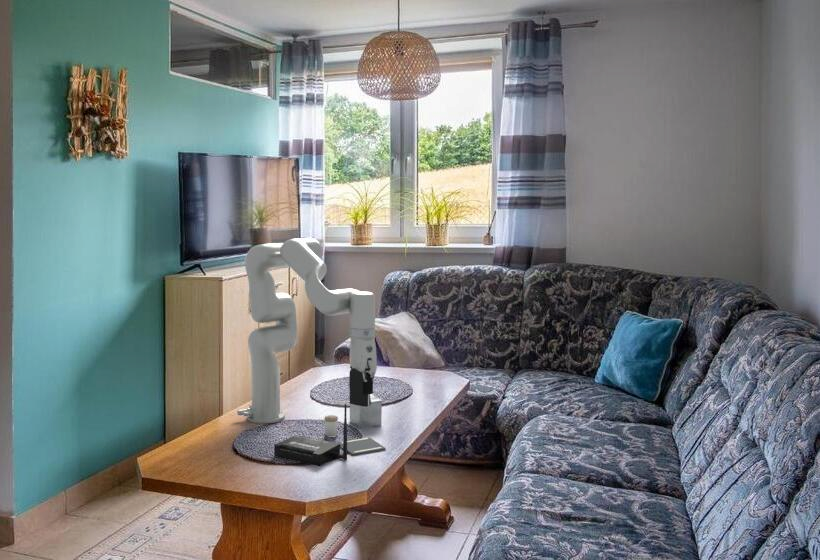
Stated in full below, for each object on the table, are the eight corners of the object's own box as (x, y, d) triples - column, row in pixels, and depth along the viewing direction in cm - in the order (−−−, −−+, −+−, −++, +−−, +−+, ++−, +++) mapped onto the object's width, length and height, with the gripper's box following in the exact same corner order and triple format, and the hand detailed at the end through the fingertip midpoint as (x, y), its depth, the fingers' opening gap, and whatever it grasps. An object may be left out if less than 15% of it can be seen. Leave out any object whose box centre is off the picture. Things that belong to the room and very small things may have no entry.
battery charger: (374, 404, 216) (375, 367, 215) (367, 407, 213) (367, 370, 212) (355, 401, 220) (355, 364, 218) (348, 404, 216) (348, 367, 215)
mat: (352, 455, 210) (352, 453, 210) (337, 444, 220) (337, 442, 220) (385, 450, 216) (385, 447, 216) (369, 439, 225) (369, 436, 225)
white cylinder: (327, 438, 225) (327, 420, 224) (322, 434, 229) (322, 416, 228) (339, 436, 227) (339, 418, 226) (334, 432, 231) (334, 414, 230)
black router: (270, 459, 207) (270, 402, 205) (299, 445, 220) (299, 391, 218) (328, 472, 198) (328, 412, 196) (354, 456, 211) (355, 400, 209)
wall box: (359, 429, 235) (359, 403, 234) (348, 421, 242) (348, 397, 241) (382, 425, 239) (383, 400, 238) (371, 418, 246) (371, 394, 245)
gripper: (386, 337, 208) (386, 396, 210) (361, 327, 223) (360, 382, 225) (363, 339, 204) (363, 399, 206) (339, 329, 219) (338, 385, 221)
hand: (361, 390), depth 216 cm, fingers closed on battery charger, 7 cm apart
